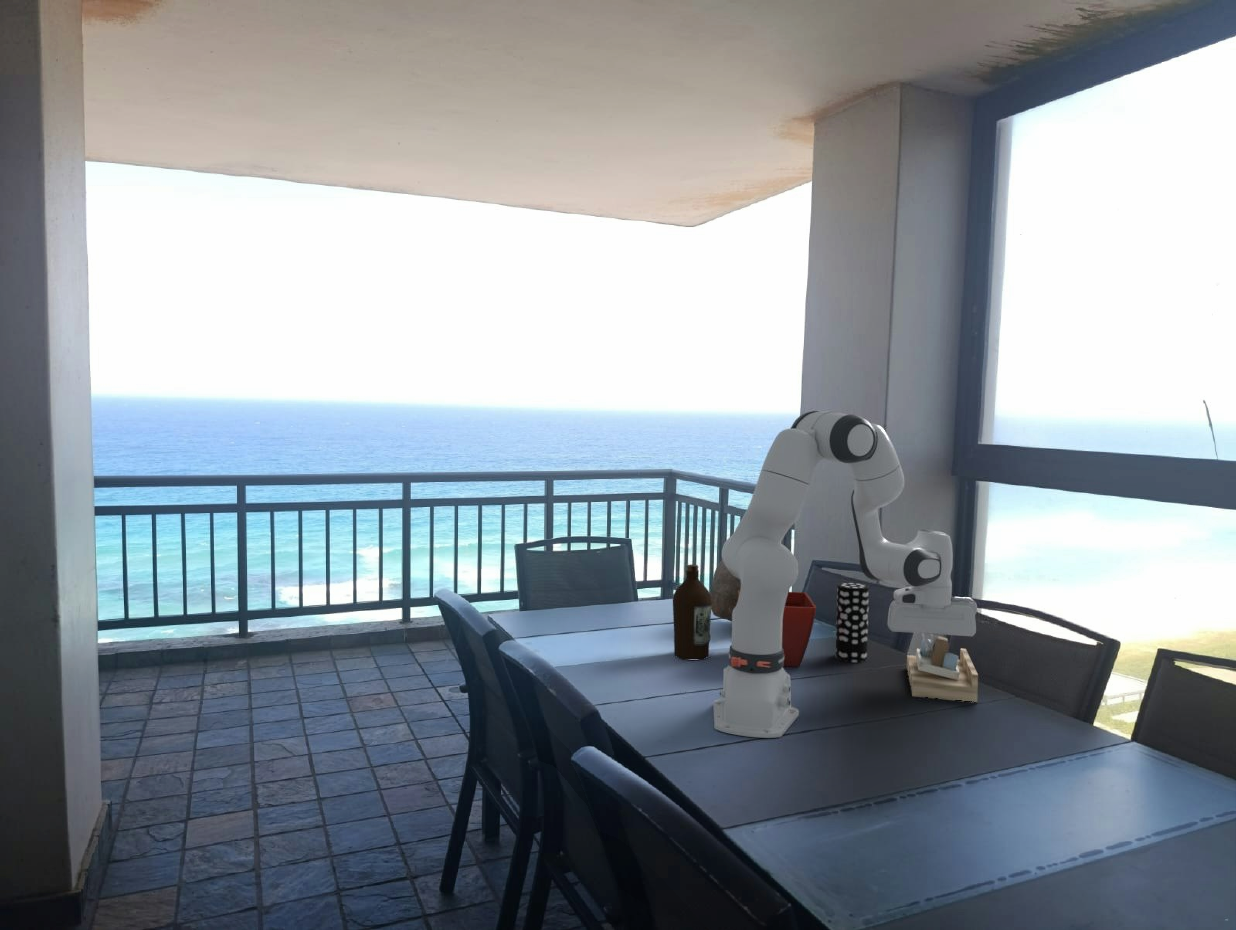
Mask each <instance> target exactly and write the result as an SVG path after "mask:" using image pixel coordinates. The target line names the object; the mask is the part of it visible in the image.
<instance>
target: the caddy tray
mask: <svg viewBox="0 0 1236 930" xmlns="http://www.w3.org/2000/svg"><path fill="white" fill-rule="evenodd" d="M927 639H928V640H929V642H930V641H931V639H930V638H927ZM949 647H950V643H949V640H948V637H943V636H940V635H938V639H936V642H935V644H934V651H933V652H929V651H926V641H925V639H924V638H922V642H921V645H920V648H918V647H917V648H916V650H915V655H914V656H916V660H917V666H918V670H921V671H924V672H928V673H932V674H936V675H940V676H944V677H947V678H951V679H955V680H958V679H959V675H960V672H959V669H958V666H957V662H958V660H959V657H960V655H957V654H955V653H952V652H949Z"/></svg>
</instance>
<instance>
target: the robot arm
mask: <svg viewBox="0 0 1236 930" xmlns="http://www.w3.org/2000/svg"><path fill="white" fill-rule="evenodd" d="M764 459H765V460H764V461H763V463H762V467H761V469H760V472H759V475H758V479H757V483H756V485H755V488H754V490H753V494H752V497H751V499H750V502H749V504H748V506H747V508H746V511H745V512H744V515H743V516H742V517H741V519H740V521H739V522H738V524H737V526H736V529H735V530H734V532H733V534H732V535H731V536H730V537H728V538H727V539H726V540H725V542H724V544H723V546H722V548H721V560H722V559H723V562H724V564H725V566H726V567H727V569H728V570H729V572H730V573H731V574H732V575H733V576H735V577H736V578H738V579H740V581H741V589H740V594H739V598H738V602H737V605H736V607H735V608H734V609H733V612H732V622H731V645H730V646H729V651H728V665H727V666H726V667H724V668H723V688H722V690H720V691H719V697H721V698H718V699H715V700H713V704H712V705H713V706H712V707H713V709H712V710H713V711H712V713H713V727H714V728H713V729H715V730H717V731H720V732H722V733H727V734H731V735H737V736H743V737H749V738H750V737H751V738H762V739H763V738H764V739H765V738H766V739H771V738H772V739H773V738H781V737H782V736H783V735H784V734H785V733H786V731H787V730H788V729H789V728H790V727H791V725H792V724H793V723H794V722H795V720H797V718H798V717H799V715H800V714H799V713H800V711H799V709H798V708H796V707H794V706H792V701H791V699H792V698H791V697H792V695H791V693H792V692H791V676H790V674H789V673H788V672H787V671H786V670H785V668H784V667H785V666H784V649H783V648H782V627H783V613H784V607H785V603H786V599H787V596H788V592H790V589H791V587H793V586H794V584H795V583H796V581H797V579H798V577H799V576H798V575H799V570H800V569H799V562H798V559H797V558H796V556H795V555H794V554H793V552H792V551H791V550H790V549H789V548H787V546H785V545H784V544H783V543H782V541H783V539H784V537H785V536H786V534H787V533H788V531H789V530H790V528H791V527H792V526H793V525H795V523H797V521H799V519H800V516H801V513H802V511H803V507H804V504H805V502H806V498H807V495H808V493H809V490H810V486H811V482H812V480H813V476H814V473H815V468H816V467H817V466H818V464H819V463H820V462H821V461H822V460H823V461H826V462H832V463H833V462H834V463H844V464H848V469H849V471H850V474H851V475H850V476H851V477H852V481H853V486H854V487H853V490H852V491H851V496H850V505H851V513H852V518H853V521H854V527H855V531H856V537H857V542H858V549H859V550H858V552H859V554H858V559H859V566H860V568H861V571H862V573H863V574H864V575H865V577H867V578H868V579H870V580H873V581H879V582H880V581H882V582H888V583H892V584H897V585H903V586H907V587H902V588H898V589H895V590H894V591H893V599H894V600H893V601H891V602H890V605H889V609H888V613H887V614H888V615H887V627H888V629H889V630H891V632H898V633H915V634H921V635H922V639H925V641H926V651H929V652H933V651H934V644H935V642H936V639H938V636H939V635H945V636H948V635H949V636H959V637H960V636H962V637H963V636H964V637H974V635H975V634H977V633H976V632H977V624H976V614H977V612H978V604H977V601H975V600H974V599H972V598H971V597H967V596H964V597H960V596H952V591H953V587H952V586H953V584H952V583H953V582H952V579H951V573H952V571H953V566H954V565H953V563H954V561H953V558H954V557H953V556H954V553H953V543H952V538H951V536H950V535H949V534H947V533H945V532H942V531H936V530H931V529H920V530H918V531H917V533H916V536H915V537H914V539H913V540H911V541H910V542H907V543H906V544H901V543H895V542H891V541H889V540H887V539H886V538H885V537H884V536H883V534H882V529H881V523H880V518H879V512H878V509H880V508H883V507H886V506H887V505H889V504H892V502H894V501H896V499H898V497H899V496H901V494H902V492H903V490H904V488H905V475H904V471H903V468H902V465H901V462H900V460H899V456H898V454H897V452H896V449H895V446H894V445H893V443H892V441H891V438H890V437H889V435H888V433H887V432H886V430H885V429H884V428H883V426H881V425H879V424H876V423H870V422H869V421H868V420H867V419H866V418H863V417H862V416H859V415H856V414H847V413H841V412H837V411H831V410H830V411H829V410H826V411H825V410H824V411H823V410H822V411H817V410H812V411H808V412H805V413H802V414H800V416H798V417H797V418H796V419H795V420H794V421H793V423H792V424H791V427H790V428H786V429H785V428H784V429H783V430H781V431H779V432H778V434H777V435H776V437H775V438H774V440H773V442H772V443H771V445H770V447H769V450H768V452H767V454H766V456H765V458H764ZM930 638H931V639H930ZM928 639H930V640H931V641H930V642H929V640H928Z"/></svg>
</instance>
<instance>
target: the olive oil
mask: <svg viewBox="0 0 1236 930" xmlns="http://www.w3.org/2000/svg"><path fill="white" fill-rule="evenodd" d="M699 572H700V571H699V565H698V564H687V565H686V572H685V575H686V576H685V577H686V578H685V579H684V581H683V582H682V583H681V584H680V585H679V586H678V587H677V588H676V589H675V591H674V593H673V597H672V615H673V617H672V618H673V620H672V621H673V645H674V646H673V647H674V648H673V649H674V650H673V652H674V654H675V655H674V654H673V655H674V657H676V656H677V657H679V658H678V659H680V658H681V660H684V659H702V660H705V659H704V658H706V657H707V658H708V657H710V656H709V655H710V653H709V651H710V642H711V634H710V633H711V631H710V630H711V618H712V617H711V615H712V609H711V606H712V600H711V592H710V591H709V590H708V588H707V587H706V586H705V585H704V584H703V583H702V582H701V580H700V579H699V577H700V575H699ZM677 657H676V658H677ZM707 658H706V659H707Z"/></svg>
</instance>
